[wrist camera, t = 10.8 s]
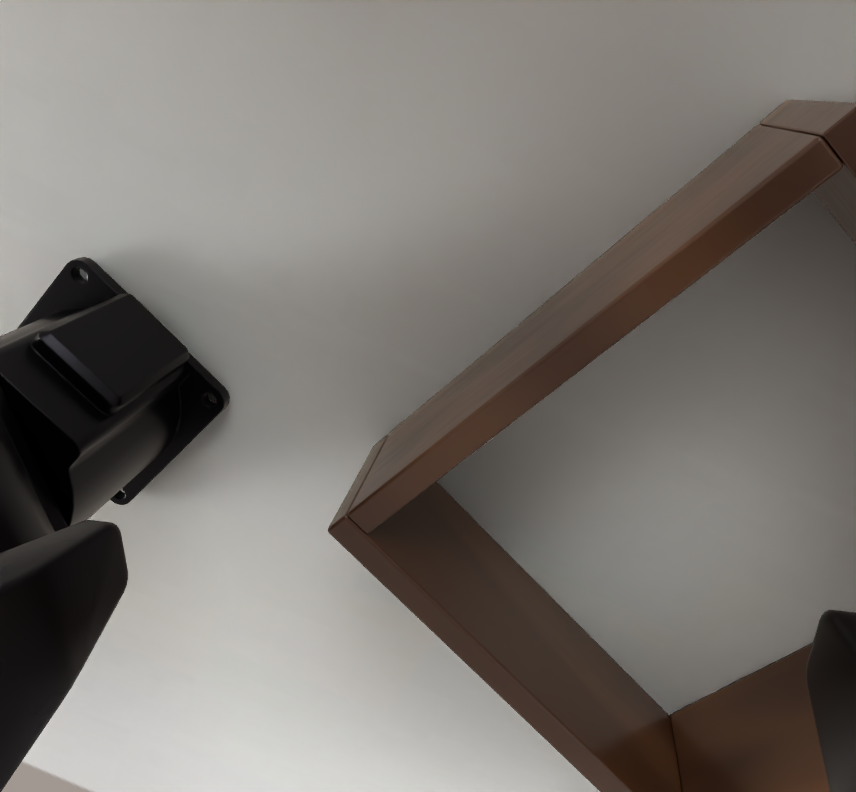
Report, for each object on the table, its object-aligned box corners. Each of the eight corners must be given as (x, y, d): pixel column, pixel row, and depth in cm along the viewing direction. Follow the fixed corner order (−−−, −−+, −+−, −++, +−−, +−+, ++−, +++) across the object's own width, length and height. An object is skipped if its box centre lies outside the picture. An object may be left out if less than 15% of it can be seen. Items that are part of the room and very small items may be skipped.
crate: (664, 737, 26) (683, 873, 22) (372, 446, 24) (325, 531, 19) (1114, 517, 20) (1271, 641, 16) (787, 99, 18) (862, 102, 13)
